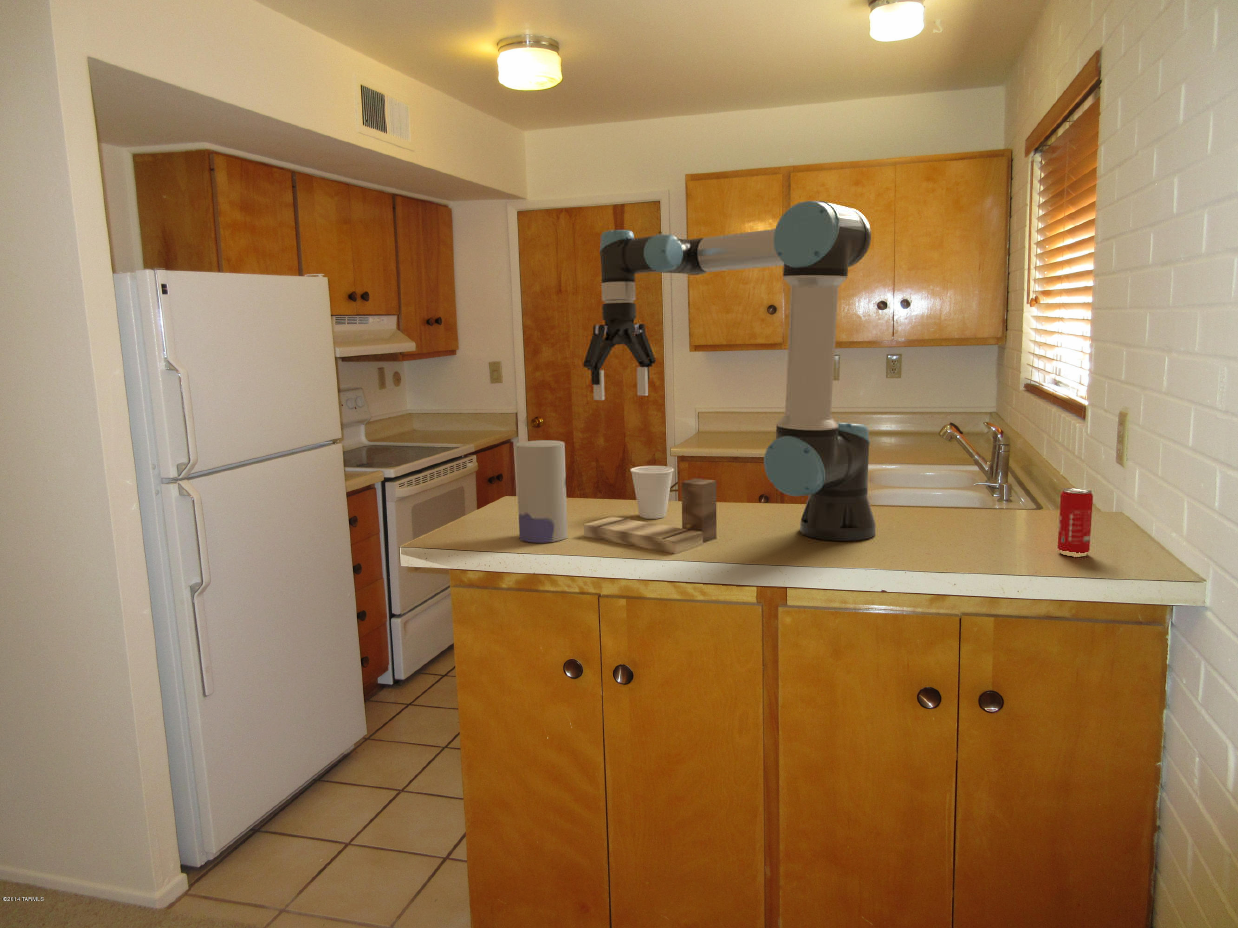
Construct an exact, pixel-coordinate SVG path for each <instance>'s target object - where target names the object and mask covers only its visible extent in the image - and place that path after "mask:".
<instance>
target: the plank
mask: <svg viewBox="0 0 1238 928" xmlns="http://www.w3.org/2000/svg"><path fill="white" fill-rule="evenodd" d="M583 533H584V534H583V535H584V537H587V538H593V539H598V540H603V541H608V542H613V543H619V544H623V545H629V546H633V545H634V546H635V547H640V548H644V549H649V550H654V551H659V552H665V553H671V554H676V555H677V554H679V553H682V552H685V551H687V550H691V549H693V548H697V547H698V546H702V545H703V544H704V543H703V532H700V531H694V530H691V529H689V530H688V529H682V527H676V526H669V525H663V524H659V523H658V524H657V523H651V522H645V521H639V520H634V519H628V518H625V517H624V518H623V517H617V516H609V517H606V518H602V519H598V520H595V521H592V522H588V523H584V524H583Z"/></svg>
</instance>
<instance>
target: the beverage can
mask: <svg viewBox="0 0 1238 928" xmlns="http://www.w3.org/2000/svg"><path fill="white" fill-rule="evenodd" d="M1092 493H1093V491H1092V490H1091V489H1087V488H1082V487H1081V488H1080V487H1066V488H1063V489H1062V491H1061V493H1060V498H1059V499H1060V500H1059V501H1060V502H1059V516H1058V518H1059V519H1058V533H1057V534H1058V535H1057V550H1058V549H1059V550H1062V551H1069V552H1076V553H1079V552H1080V553H1085V552H1088V553H1089V551H1090V549H1091V548H1090V547H1091V532H1092V519H1093V506H1094V505H1093V503H1094V502H1093V501H1094V495H1093V494H1092ZM1059 550H1058V551H1059Z"/></svg>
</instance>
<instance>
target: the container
mask: <svg viewBox="0 0 1238 928" xmlns="http://www.w3.org/2000/svg"><path fill="white" fill-rule="evenodd" d="M565 446H566V445H565V441H561V440H550V439H549V440H545V439H544V440H543V439H542V440H528V441H521V442H517V443H516V444H515V456H516V457H515V458H516V459H515V460H516V484H517V505H518V507H517V508H518V527H519V528H518V529H519V530H518V531H519V534H518V535H519V539H520V540H521V541H522V542H526V543H527V542H528V543H533V544H534V543H536V544H537V543H538V544H545V543H553V542H559V541H562V540H565V539H567V538H568V523H567V522H568V511H567V508H568V507H567V506H568V505H567V504H568V503H567V482H566V481H567V479H566V478H567V476H566V474H567V473H566V450H565V448H566V447H565Z"/></svg>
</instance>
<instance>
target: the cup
mask: <svg viewBox="0 0 1238 928" xmlns="http://www.w3.org/2000/svg"><path fill="white" fill-rule="evenodd" d="M674 471H675V469H674V468H673V467H671V466H665V465H644V466H637V467H632V468H630V472H631V475H632V476H631V477H632V483H633V487H634V492H635V498H636V499H635V500H636V504H637V508H638V510H637V511H638V515H639V517H641V518H642V519H647V520H656V519H658V520H659V519H663V518H665V516H666V515H667V512H668V511H667V510H668V503H669V497H670V492H671V491H670V490H671V485H672V478H673V472H674Z"/></svg>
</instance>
